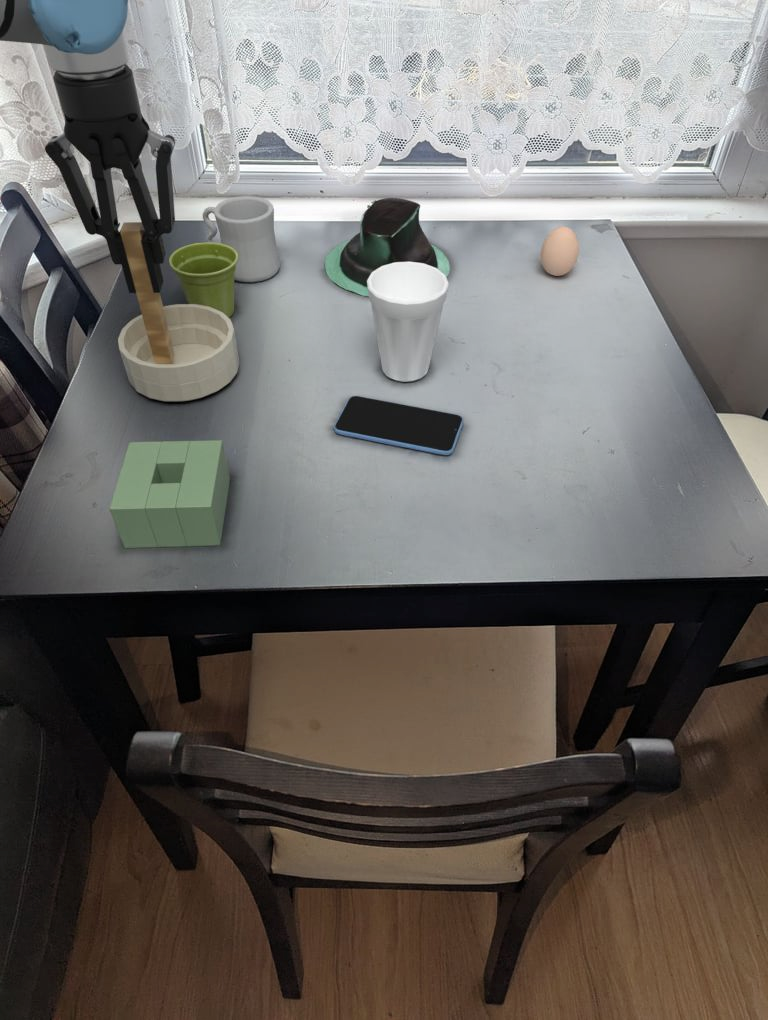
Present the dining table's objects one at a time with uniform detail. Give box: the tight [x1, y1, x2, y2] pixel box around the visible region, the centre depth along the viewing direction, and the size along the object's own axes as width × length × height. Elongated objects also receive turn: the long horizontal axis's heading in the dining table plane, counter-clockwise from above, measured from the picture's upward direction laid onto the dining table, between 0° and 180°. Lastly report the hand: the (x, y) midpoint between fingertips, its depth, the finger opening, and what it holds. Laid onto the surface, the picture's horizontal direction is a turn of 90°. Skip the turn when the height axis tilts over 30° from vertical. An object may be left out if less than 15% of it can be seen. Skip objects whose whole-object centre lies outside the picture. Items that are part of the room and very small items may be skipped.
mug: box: [202, 195, 281, 283], centre depth 113 cm, size 12×9×10 cm
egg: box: [540, 226, 580, 277], centre depth 113 cm, size 6×6×8 cm
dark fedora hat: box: [324, 197, 451, 297], centre depth 116 cm, size 15×19×20 cm
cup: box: [367, 262, 450, 383], centre depth 93 cm, size 10×10×13 cm
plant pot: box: [168, 241, 238, 319], centre depth 104 cm, size 9×9×9 cm
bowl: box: [117, 303, 240, 402], centre depth 95 cm, size 14×14×6 cm
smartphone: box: [333, 395, 464, 456], centre depth 89 cm, size 7×1×15 cm
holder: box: [109, 439, 231, 549], centre depth 78 cm, size 10×10×6 cm
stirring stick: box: [119, 221, 174, 364], centre depth 89 cm, size 2×2×18 cm
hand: (146, 286), depth 88 cm, fingers closed on stirring stick, 2 cm apart
